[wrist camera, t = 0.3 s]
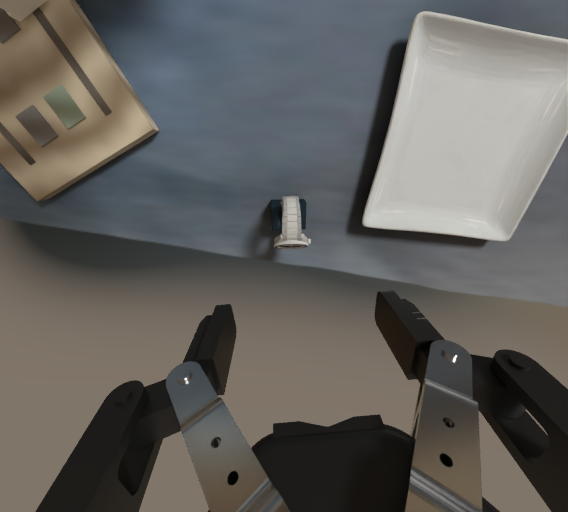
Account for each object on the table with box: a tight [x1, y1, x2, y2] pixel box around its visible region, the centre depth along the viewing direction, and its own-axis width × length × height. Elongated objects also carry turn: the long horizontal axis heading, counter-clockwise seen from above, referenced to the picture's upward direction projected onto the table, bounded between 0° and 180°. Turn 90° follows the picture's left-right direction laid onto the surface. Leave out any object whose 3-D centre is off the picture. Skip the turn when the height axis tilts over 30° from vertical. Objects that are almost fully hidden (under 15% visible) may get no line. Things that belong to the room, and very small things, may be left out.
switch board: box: [0, 0, 159, 201], centre depth 30 cm, size 24×22×2 cm
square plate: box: [362, 11, 568, 241], centre depth 35 cm, size 27×27×4 cm
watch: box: [271, 196, 311, 249], centre depth 34 cm, size 6×8×11 cm
